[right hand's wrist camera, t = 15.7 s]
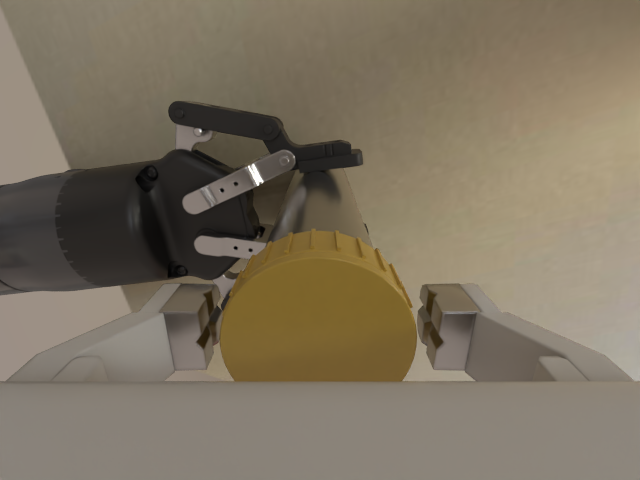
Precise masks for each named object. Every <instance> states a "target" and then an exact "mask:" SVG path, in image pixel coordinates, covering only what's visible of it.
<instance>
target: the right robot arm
mask: <svg viewBox="0 0 640 480" xmlns="http://www.w3.org/2000/svg"><path fill="white" fill-rule="evenodd" d="M219 300H220V292H219V287H218V286H217V284H182V283H174V284H163V285H162V286H161V287H160V288H159V290H158V291H157V292H156V293H155V294H154V295H153V296H152V297H151V298H150V300H149V301H148V302H147V303H146V304H145V305H144V306H143V307H142V308H141V310H140V311H139V312H132V313H130V314H128V315H125V316H123V317H121V318H119V319H116V320H114V321H112V322H109V323H107V324H105V325H103V326H100V327H98V328H96V329H93V330H91V331H89V332H87V333H84V334H82V335H80V336H78V337H75V338H73V339H71V340H69V341H66V342H64V343H62V344H59V345H57V346H55V347H53V348H50V349H48V350H46V351H44V352H41V353H39V354H37V355H35V356H34V357H33V358H32V359H31V360H29V361H28V362H27V363H26V364H25V365H24V366H23V367H21V368H20V369H19V370H18V371H17V372H16V373H15V374H13V375H12V376H11V377H10V378H9V379H8V380H6V381H5V382H4V381H0V480H640V381H634V380H633V379H632V378H630V377H629V376H628V375H627V374H626V373H625V372H623V371H622V370H621V369H620V368H619V367H618V366H617V365H615V364H614V363H613V362H612V361H611V360H610V359H609V358H607V357H606V356H605V355H603V354H601V353H599V352H596V351H594V350H592V349H590V348H587V347H585V346H583V345H580V344H578V343H576V342H574V341H571V340H569V339H567V338H565V337H562V336H560V335H558V334H556V333H553V332H551V331H549V330H546V329H544V328H542V327H540V326H537V325H535V324H533V323H531V322H528V321H526V320H524V319H521V318H519V317H517V316H515V315H512V314H510V313H508V312H501V311H500V309H499V308H498V307H497V306H496V305H495V304H494V303H493V302H492V301H491V299H490V298H489V297H488V296H487V295H486V294H485V293H484V292H483V291H482V289H481V288H480V287H479V286H478V285H477V284H474V283H467V284H425V285H422V288H421V291H420V300H421V301H422V303H423V306H422V307H421V308H420V309H419V310H418V317H417V327H418V333H419V337H420V339H421V342H422V343H423V344H425V345H426V346H427V351H426V353H427V356H428V358H429V360H430V362H431V365H432V367H433V369H434V370H464V371H465V372H466V373H467V374H468V375H470V376H471V377H472V378H473V379H474V380H476V381H205V382H204V381H164V380H166V379H167V378H168V377H169V376H171V375H172V374H173V373H174V372H175V371H176V370H206V369H207V367H208V365H209V363H210V360H211V358H212V356H213V354H214V351H213V346H214V345H215V344H217V343H218V342H219V340H220V327H221V322H222V318H223V316H222V310H221V309H220V308H219V307H218V306H217V304H218V302H219Z"/></svg>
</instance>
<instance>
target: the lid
mask: <svg viewBox="0 0 640 480" xmlns="http://www.w3.org/2000/svg"><path fill="white" fill-rule="evenodd" d="M229 296H230V298H229V300H228V302H227V304H226V306H225V308H224V310H223V312H222V316H223V318H222V322H221V327H220V347H221V352H222V357H223V360H224V362H225V365H226V367H227V369H228V371H229V373H230V375H231V376H232V378H233V379H234V380H235V381H402V380H403V379H404V377H405V376H406V374H407V372H408V371H409V369H410V367H411V364H412V361H413V359H414V355H415V350H416V343H417V332H416V324H415V321H414V317H413V314H412V312H411V309H410V308H412V307H413V306H412V303H411V301H410V299H409V297H408V295H407V293H406V291H405V288H404V286H403V284H402V282H401V281H400V279H399V277H398V275H397V273H396V271H395V268H394V266H393V265H392V263H391V264H390V265H389V264H388V263H387V261H386V260H385V259H384V258H383V257H382V255H381V253H380V251H379V250H378V249H377V248H376V249H375V250H374V249H373V248H372V247H370V246H369V245H367V244H366V243H364V242H362V240H361V238H359V237H357V238H354V237H351V236H348V235H345V234H341V233H339V231H338V230H335V232H330V231H316V229H311V231H307V232H301V233H296V234H293V233H292V232H291V233H288V236H286V237H283V238H281V239H279V240H277V241H275V242H273V243H272V242H271V241H270V242H268V244H267V246H266V247H265V248H264V249H263V250H261V251H260V252H259V253H258V254H257V255H256V256H255V255H254V254H253V255H252V256H251V258H250V260H249V262H248V264H247V266H246V268H245V270H244V272H243V271H240V273H239V275H238V277H237V279H236V281H235V283H234V285H233V287H232V289H231V291H230V293H229Z"/></svg>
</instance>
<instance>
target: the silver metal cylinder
mask: <svg viewBox="0 0 640 480" xmlns="http://www.w3.org/2000/svg"><path fill="white" fill-rule="evenodd" d="M311 229H316V231H330V232H335V230H338V231H339V233H341V234H345V235H348V236H351V237H354V238H357V237H359V238H361V240H362V242H364V243H366V244H367V245H369V246H370V247H372V248H373V246H372V243H371V241H370V238H369V235H368V233H367V230H366V228H365V225H364V222H363V220H362V217H361V214H360V212H359V209H358V206H357V204H356V201H355V198H354V196H353V193H352V190H351V188H350V185H349V182H348V180H347V177H346V174H345V172H344V169H343V168H338V169H331V170H323V171H314V172H308V173H299V169H298V170H295V173H294V175H293V178H292V180H291V183H290V185H289V188H288V190H287V193H286V195H285V198H284V201H283V203H282V206H281V208H280V211H279V213H278V216H277V218H276V221H275V223H274V226H273V228H272V231H271V233H270V236H269V238H268V241H267V243H266V246H267V244H268V242H270V241H271V242H272V243H273V242H275V241H277V240H279V239H281V238H283V237H286V236H288V233H291V232H292V233H293V234H296V233H301V232H307V231H311ZM266 246H265V247H266Z"/></svg>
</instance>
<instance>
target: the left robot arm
mask: <svg viewBox="0 0 640 480" xmlns="http://www.w3.org/2000/svg"><path fill="white" fill-rule="evenodd" d="M169 116H170V118H171V120H172V121H173V122H174V123H176V150H173V151H171V152H169V153H168V154H167V155H166V156H164V157H163V158H162V159H159V160H153V161H146V162H138V163H131V164H124V165H116V166H109V167H101V168H94V169H87V170H85V169H73V170H68V171H66V172H64V173H58V174H50V175H44V176H39V177H36V178H32V179H29V180H25V181H22V182H18V183H14V184H7V185H0V295H7V294H16V293H24V292H33V291H75V290H84V289H92V288H100V287H110V286H118V285H127V284H135V283H144V282H152V281H161V280H169V279H174V278H179V277H183V276H195V277H199V278H201V279H204V280H212V281H213V282H214V284H217V286H218V287H219V291H220V293H221V295H222V296H223V298H224V300H223V302H222V304H221V308H222V310H224V308H225V306H226V304H227V302H228V300H229V298H230V296H229V293H230V291H231V289H232V287H233V285H234V283H235V281H236V279H237V277H238V275H239V273H232V272H230V271H229V270H228V269H229V268H230V267H232V266H233V265H234V264H235V263H236V262H237V261H238V260H239V259H240V258H245V259H250V258H251V256H252V255H253V254H254V255H255V256H256V255H257V254H258V253H259V252H260V251H261V250H263V249H264V248H265V246H266V243H267V241H268V238H269V236H270V233H271V231H272V228H273V226H274V225H270V224H263V223H259V218H258V215H257V213H256V211H255V209H254V207H253V189H252V188H254V187H256V186H258V185H260V184H261V183H263V182H265V181H267V180H269V179H272V178H274V177H276V176H278V175H281V174H283V173H285V172H287V171H290V170H298V169H299V173H308V172H314V171H323V170H331V169H338V168H346V167H353V166H359V165H362V164H363V158H362V151H361V150H360V149H352V150H351V144H350V143H349V142H346V141H343V140H336V141H328V142H321V143H314V144H306V145H297V144H294V143H293V142H292V141H291V140H290V139H289V137H288V135H287V133H286V132H285V130H284V128H283V123H282V121H281V120H280V119H279V118H277V117H274V116H268V115H263V114H258V113H252V112H247V111H241V110H236V109H230V108H225V107H220V106H214V105H209V104H203V103H198V102H186V101H176V102H173V103H172V104H171V105H170V107H169ZM217 132H222V133H227V134H233V135H238V136H244V137H249V138H255V139H261V140H263V141H264V143H265V145H266V147H267V148H268V150H269V152H270V153H268V154H266V155H264V156H262V157H259V158H257V159H254V160H252V161H250V162H248V163H246V164H244V165H242V166H239V167H237V168H235V169H233V168H231V167H229V166H227V165H225V164H223V163H221V162H219V161H217V160H216V159H214V158H212V157H210V156H208V155H206V154H204V153H202V152H200V151H198V150H197V146H198V144H199V143H200V142H206V141H210V140H212V139H214V138H215V137H216V134H217ZM364 225H365V228H366V230H367V233H368V229H367V226H366V224H364ZM259 232H260V233H259ZM368 235H369V234H368Z"/></svg>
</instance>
